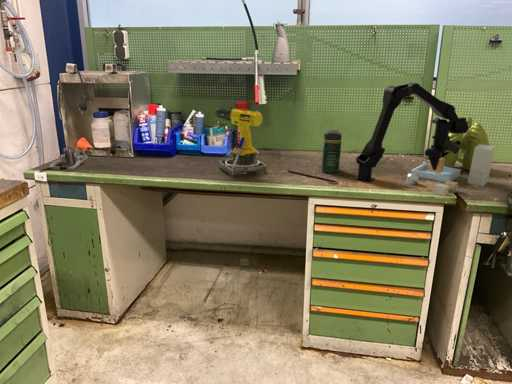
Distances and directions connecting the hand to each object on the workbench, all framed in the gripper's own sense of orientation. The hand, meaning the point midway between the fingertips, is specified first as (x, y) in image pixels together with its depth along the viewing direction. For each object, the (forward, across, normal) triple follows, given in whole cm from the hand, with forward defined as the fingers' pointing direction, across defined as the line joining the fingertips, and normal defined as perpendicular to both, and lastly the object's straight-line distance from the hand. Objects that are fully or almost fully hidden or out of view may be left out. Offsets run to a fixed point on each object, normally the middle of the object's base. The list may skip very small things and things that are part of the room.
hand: (436, 169), depth 184 cm
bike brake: (+4, -102, +132) cm, 167 cm away
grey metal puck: (+3, -18, +4) cm, 19 cm away
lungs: (+4, +21, -3) cm, 21 cm away
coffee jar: (+4, -24, +39) cm, 46 cm away
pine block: (+4, -18, -12) cm, 22 cm away
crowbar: (+4, -39, +40) cm, 56 cm away
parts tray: (+3, 0, 0) cm, 3 cm away
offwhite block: (+4, -24, -10) cm, 26 cm away
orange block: (+1, 0, 0) cm, 1 cm away
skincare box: (+4, +2, -17) cm, 17 cm away
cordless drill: (+4, -50, +71) cm, 87 cm away
